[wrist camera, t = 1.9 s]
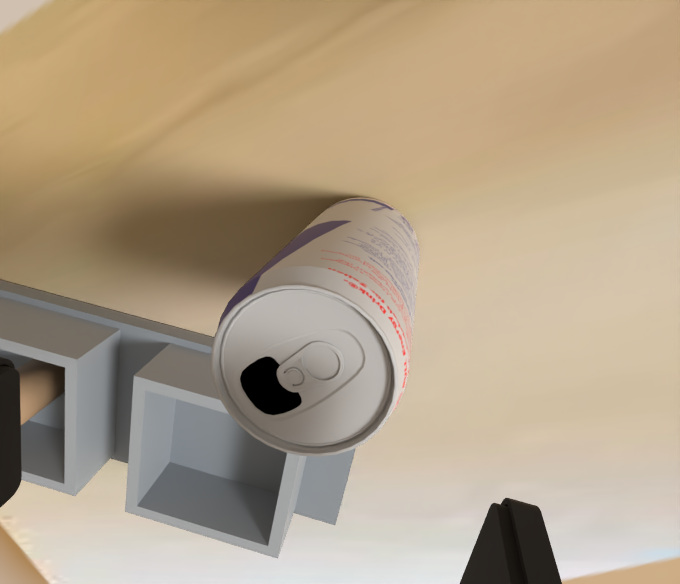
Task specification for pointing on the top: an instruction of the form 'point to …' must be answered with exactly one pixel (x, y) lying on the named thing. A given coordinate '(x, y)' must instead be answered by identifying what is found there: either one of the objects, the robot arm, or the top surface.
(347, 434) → the energy drink
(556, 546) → the top surface
